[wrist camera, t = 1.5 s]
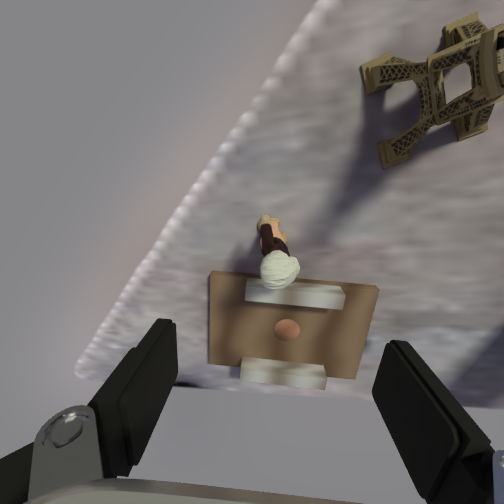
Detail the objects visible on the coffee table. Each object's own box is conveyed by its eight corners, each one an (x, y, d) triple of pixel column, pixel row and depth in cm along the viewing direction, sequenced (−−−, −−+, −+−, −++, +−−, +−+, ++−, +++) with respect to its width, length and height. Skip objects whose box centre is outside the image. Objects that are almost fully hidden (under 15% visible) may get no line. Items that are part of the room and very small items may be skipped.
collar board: (375, 285, 31) (388, 299, 28) (352, 373, 36) (361, 393, 33) (212, 270, 32) (205, 282, 29) (211, 357, 37) (205, 376, 34)
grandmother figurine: (244, 221, 30) (227, 254, 18) (269, 203, 29) (269, 225, 17) (278, 267, 31) (284, 326, 19) (303, 252, 30) (325, 303, 18)
